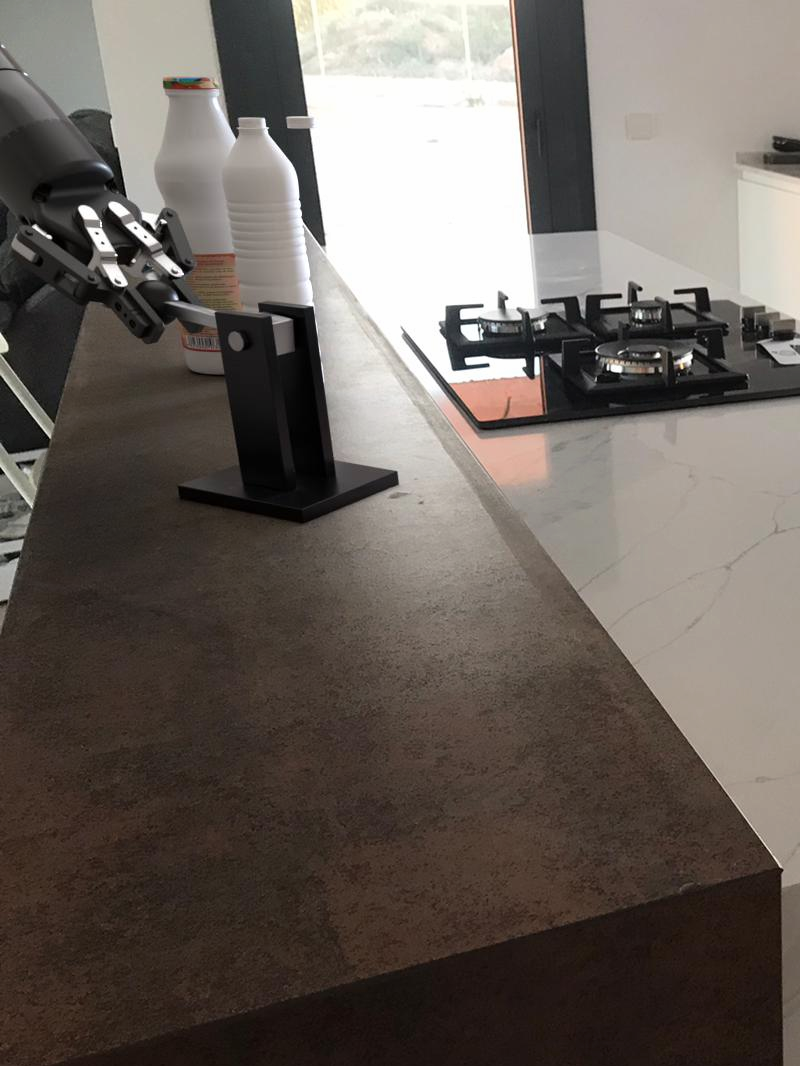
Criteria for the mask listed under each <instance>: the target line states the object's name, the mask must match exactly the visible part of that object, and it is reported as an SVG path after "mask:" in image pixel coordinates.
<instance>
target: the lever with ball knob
mask: <svg viewBox="0 0 800 1066" xmlns="http://www.w3.org/2000/svg"><path fill="white" fill-rule="evenodd" d="M134 287H135V289H136V290H137V291H138V292H139V293H140V295H141V296H142V297H143V298H144V299H145V301H146V302H147V303H148V304H149V305H150V307H151V308H152V309H153V310H154V311H155V313H156V314H157V315H158V316H159V317H160V319H161V320H162V321H163V323H164V325H165V326H167V325H169V324H172V323H173V322H174V321H175V320H176V319H177V318H178V319H181V320H185V321H189V322H192V323H196V324H200V325H203V326H207V327H211V328H214V329H217V325H216V319H215V312H217V311H214V310H211V309H207V308H203V307H200V306H196V305H192V304H188V303H185V302H181V301H180V300H179V297H178V295H177V293H176V292H175V290H174V289H173V288H172V287H171V286H169V285H168V284H166V283H164V282H162V281H158V280H146V281H143V280H142V281H141V282H140V283H137V284H136V285H135V286H134ZM255 314H263V315H270V316H272V323H273V330H274V336H275V343H276V350H277V356H279V355H283V354H287V353H290V352H294V351H295V342H294V324H293V319H290V318H286V317H282V316H279V315H275V314H271V313H267V312H260V313H255ZM178 319H177V320H178Z"/></svg>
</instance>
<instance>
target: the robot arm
mask: <svg viewBox="0 0 800 1066" xmlns="http://www.w3.org/2000/svg"><path fill="white" fill-rule="evenodd" d="M0 200H1V201H2V202H3V203H4V204H5V206H6V207H7V208H8V209H9V211H10V212H11V213H12V214H13V215H14V216H15V218H16V219H17V220H18V222H19V223H21V225H20V226H19V229H18V230H17V233H15V235H14V237H13V240H12V242H11V246H10V247H9V250H8V255H9V256H10V258H12V259H13V260H15V261H16V263H19V264H20V265H21V266H22V267H24V268H26V269H27V270H28V271H29V272H31V273H32V274H34V275H35V276H37V277H38V278H39V279H41V281H44V282H45V283H46V284H48V285H49V286H50V287H52V288H53V289H55V290H56V291H58V292H59V293H61V294H62V295H63V296H64V297H66V298H67V299H69V300H70V301H71V302H73V303H74V304H76V305H78V306H81V307H86V306H88V305H89V304H90V302H91V303H99V305H101V306H102V307H104V308H106V309H111V311H112V312H113V313H114V314H115V316H117V318H118V319H119V320H120V321H121V323H122V324H123V325H124V326H125V327H126V328H127V330H128V331H129V332H130V334H132V335H133V336H134V337H136V339H140V340H141V341H142V342H143V344H145V345H152V344H156V343H158V342H159V340H160V339H161V337H162V336H163V334H164V332H165V330H166V325H164V323H163V321H162V320H161V319H160V317H159V316H158V315H157V314H156V313H155V311H154V310H153V309H152V308H151V307H150V305H149V304H148V303H147V302H146V301H145V299H144V298H143V297H142V296H141V295H140V293H139V292H138V291H137V290H136V289H135V286H134V287H128V280H127V279H126V277H125V275H124V273H123V272H122V270H123V271H124V272H125V273H126V274H127V275H128V276H130V277H131V278H132V279H134V280H138V279H139V280H141V281H142V282H143V281H146V280H158V281H162V282H164V283H166V284H168V285H169V286H171V287H172V288H173V289H174V290H175V292H176V293H177V295H178V297H179V300H180V301H181V302H185V303H188V304H192V305H196V306H200V307H203V308H207V307H206V306H205V305H204V303H203V302H201V300H200V299H199V298H198V296H197V295H196V294H195V293H194V291H193V290H192V289H191V288H190V287H189V285H188V284H187V283H186V281H187V280H188V278H189V276H190V275H191V273H192V271H193V270H194V268H195V266H196V264H197V263H196V260H195V257H194V255H193V252H192V250H191V247H190V245H189V242H188V240H187V237H186V235H185V232H184V229H183V227H182V224H181V222H180V219H179V217H178V214H177V213H176V212H175V211H174V210H173V209H171V208H167V207H162V209H161V211H160V213H159V214H157V213H152V212H148V211H147V212H146V211H141V209H140V208H139V206H138V205H137V204H136V203H134V202H133V201H131V200H130V199H128V198H127V197H125V196H124V195H123V194H122V193H121V192H120V190H119V188H118V186H117V182H116V179H115V175H114V172H113V170H112V168H111V167H110V166H109V165H108V164H107V162H106V161H105V159H104V158H103V157H102V156H101V155H100V154H99V153H98V152H97V150H96V149H95V148H94V147H93V146H92V144H91V143H90V142H89V140H88V139H87V138H85V136H84V135H83V133H82V132H81V131H80V130H79V129H78V127H77V126H76V125H75V124H74V123H73V121H72V120H71V119H70V118H69V117H68V115H67V114H66V113H65V112H64V110H62V108H61V107H60V106H59V104H57V102H56V101H55V100H54V99H53V97H51V96H50V94H48V93H47V92H46V91H45V90H43V89H42V88H41V87H40V86H39V85H38V84H37V83H36V82H35V81H34V80H33V78H32V77H31V76H30V75H29V73H27V71H26V70H25V69H24V68H23V67H22V65H21V64H20V63H19V62H18V61H17V59H15V57H14V56H13V54H11V53H10V51H9V50H8V49H7V47H6V46H5V45H4V44H3V42H2V41H1V40H0ZM136 257H137V258H136ZM153 267H156V269H158V270H159V271H160V272H161V273H162V274H161V275H160V274H159V273H158V272H157V271H155V270H154V268H153ZM121 269H122V270H121ZM65 272H66V273H67V274H68V275H70V276H71V277H72V278H74V279H75V280H77V281H78V282H77V283H76V282H74V281H73V280H71V278H69V277H68V276H66V274H65ZM176 319H177V321H178V323H179V322H180V323H181V324H182V325H183V327H184V328H185V329H186V330H187V331H188V332H189V333H190V334H196V333H200V332H202V330H203V328H204V327H205V326H203V325H200V324H196V323H192V322H189V321H185V320H181V319H178V318H176Z"/></svg>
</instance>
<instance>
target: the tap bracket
mask: <svg viewBox="0 0 800 1066" xmlns="http://www.w3.org/2000/svg"><path fill="white" fill-rule="evenodd" d="M314 307H315V305H314V306H308V305H299V304H291V303H282V302H274V301H264V302H260V303H258V308H259V313H260V312H267V313H271V314H275V315H279V316H282V317H286V318H290V319H293V324H294V342H295V351H294V352H290V353H287V354H283V355H279V356H277V350H276V343H275V336H274V330H273V323H272V316H270V315H263V314H255V313H246V312H238V311H230V310H222V311H217V312H215V319H216V325H217V331H218V338H219V344H220V350H221V356H222V362H223V368H224V374H225V375H224V379H225V380H224V381H225V386H226V392H227V397H228V404H229V410H230V416H231V422H232V428H233V434H234V441H235V446H236V452H237V457H238V458H237V459H238V464H235V465H232V466H229V467H226V468H224V469H220V470H218V471H215V472H211V473H209V474H206V475H203V476H200V477H197V478H194V479H192V480H188V481H185V482H183V483H179V484H177V487H176V488H177V491H178V497H179V500H183V501H189V502H193V503H197V504H204V505H207V506H208V505H209V506H214V507H218V508H222V509H229V510H233V511H238V512H244V513H249V514H252V515H257V516H263V517H268V518H274V519H279V520H283V521H289V522H293V523H299V524H307V523H310V522H311V521H312V522H313V521H314V520H316V519H319V518H321V517H323V516H326V515H328V514H330V513H333V512H335V511H338V510H340V509H342V508H345V507H347V506H350V505H353V504H355V503H357V502H360V501H363V500H365V499H367V498H370V497H372V496H374V495H377V494H380V493H382V492H384V491H386V490H389V489H391V488H393V487H396V486H399V485H400V481H399V471H397V470H394V469H387V468H383V467H382V468H381V467H376V466H370V465H364V464H358V463H354V462H347V461H343V460H342V461H341V460H336V459H335V457H334V450H333V441H332V434H331V427H330V420H329V412H328V404H327V396H326V389H325V380H324V381H323V374H324V372H323V373H322V367H323V365H322V366H321V362H322V359H321V357H320V353H321V350H320V351H319V345H320V342H319V335H318V336H317V330H318V327H317V328H316V323H317V320H316V321H315V319H316V312H315V313H314ZM318 342H319V343H318Z"/></svg>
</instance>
